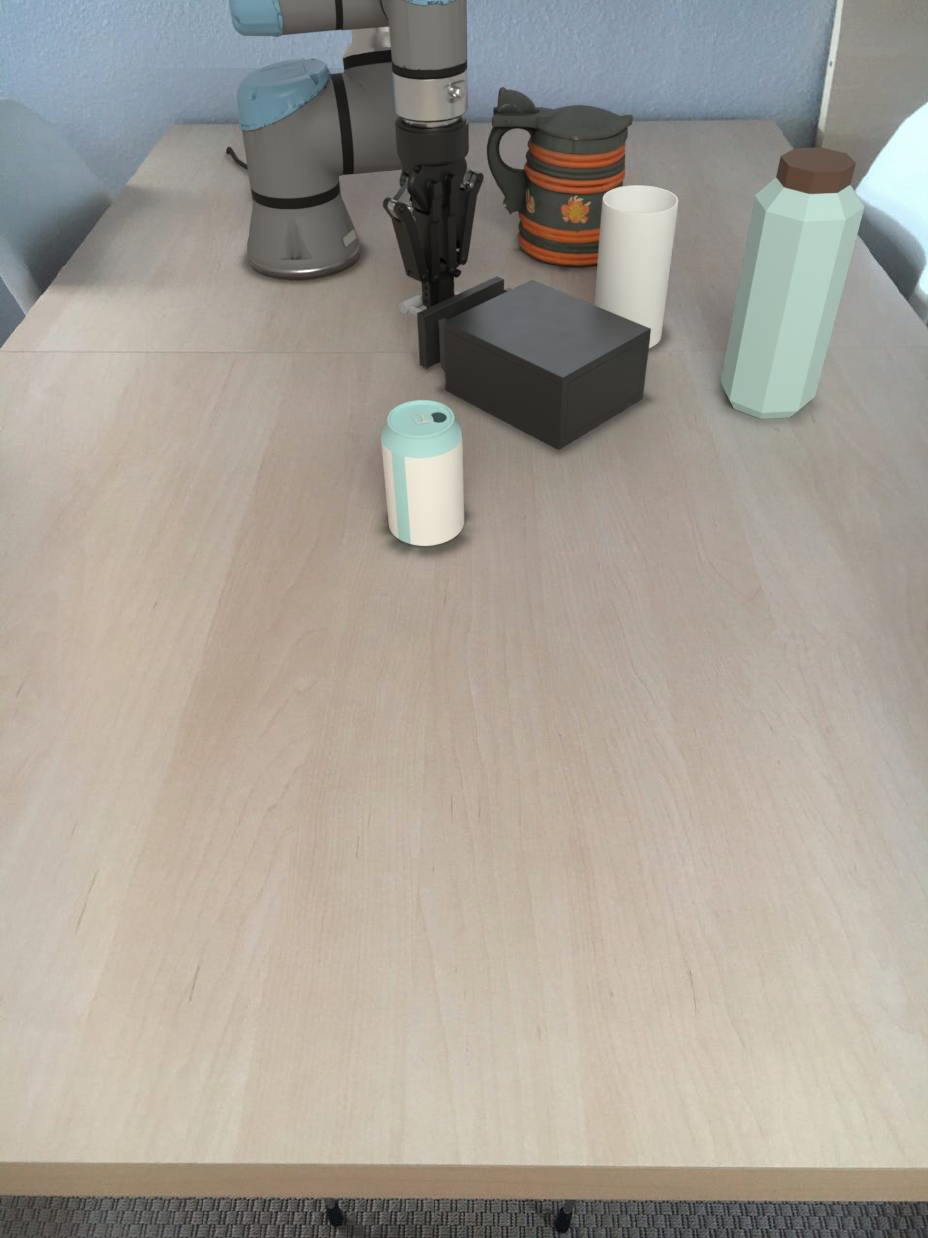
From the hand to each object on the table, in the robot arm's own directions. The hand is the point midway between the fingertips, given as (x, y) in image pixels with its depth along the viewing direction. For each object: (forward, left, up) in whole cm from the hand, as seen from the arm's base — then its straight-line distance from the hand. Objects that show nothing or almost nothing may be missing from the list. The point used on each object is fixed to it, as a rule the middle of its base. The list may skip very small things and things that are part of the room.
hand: (439, 329), depth 117 cm
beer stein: (-8, +30, -2) cm, 31 cm away
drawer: (+8, 0, -1) cm, 8 cm away
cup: (+15, +17, -2) cm, 22 cm away
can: (+25, -25, -2) cm, 35 cm away
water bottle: (+35, +16, -2) cm, 38 cm away
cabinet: (+17, 0, -2) cm, 17 cm away
